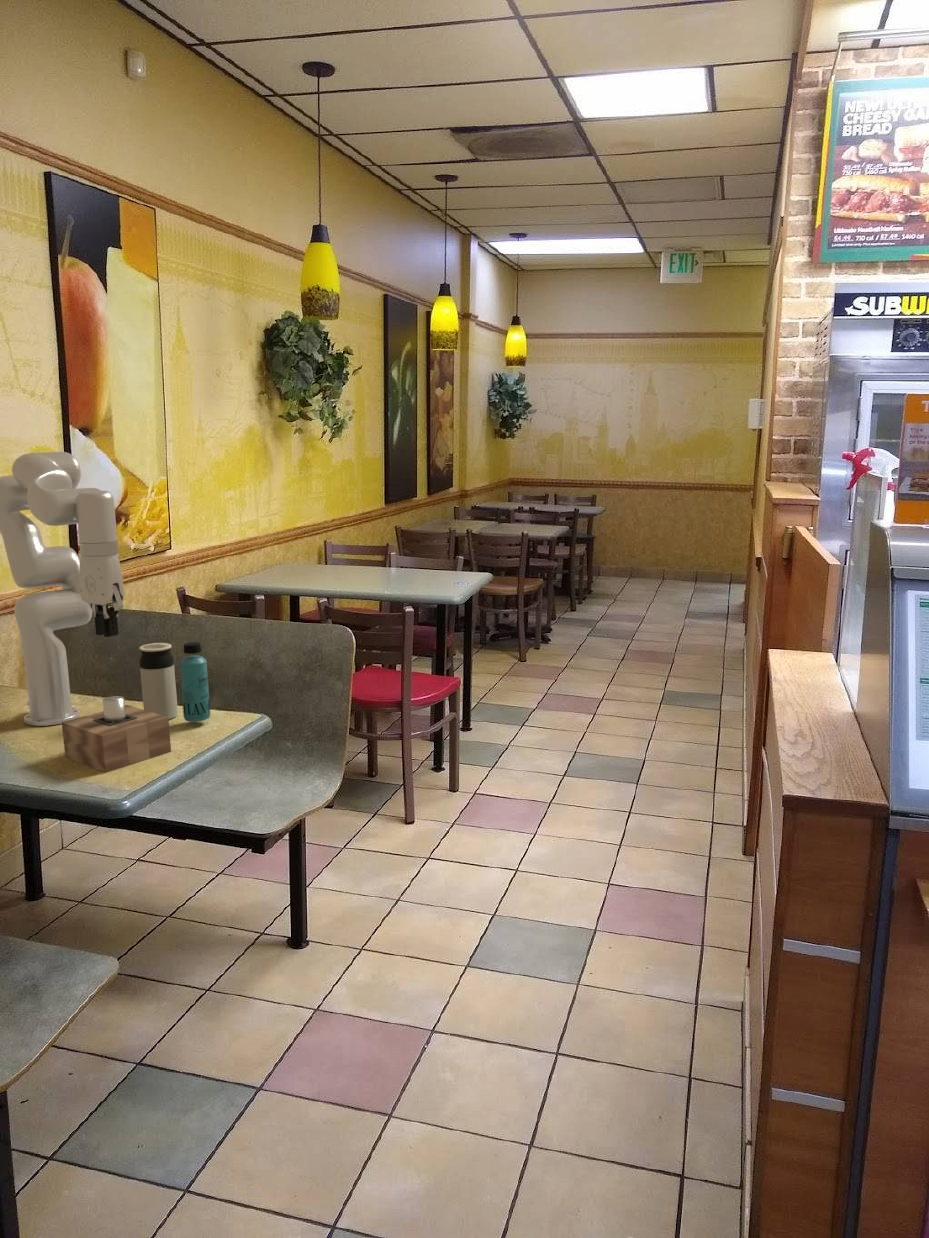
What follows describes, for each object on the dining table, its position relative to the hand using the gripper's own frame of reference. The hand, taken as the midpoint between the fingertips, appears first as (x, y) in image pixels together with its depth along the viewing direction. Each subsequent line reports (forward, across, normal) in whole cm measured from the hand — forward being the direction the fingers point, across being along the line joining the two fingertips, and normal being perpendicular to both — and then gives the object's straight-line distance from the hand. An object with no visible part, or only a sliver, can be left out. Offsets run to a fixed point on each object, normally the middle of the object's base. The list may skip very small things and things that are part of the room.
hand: (107, 634), depth 211 cm
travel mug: (+27, -16, +22) cm, 39 cm away
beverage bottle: (+27, -4, +24) cm, 37 cm away
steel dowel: (+23, 0, 0) cm, 23 cm away
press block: (+27, 0, 0) cm, 27 cm away
